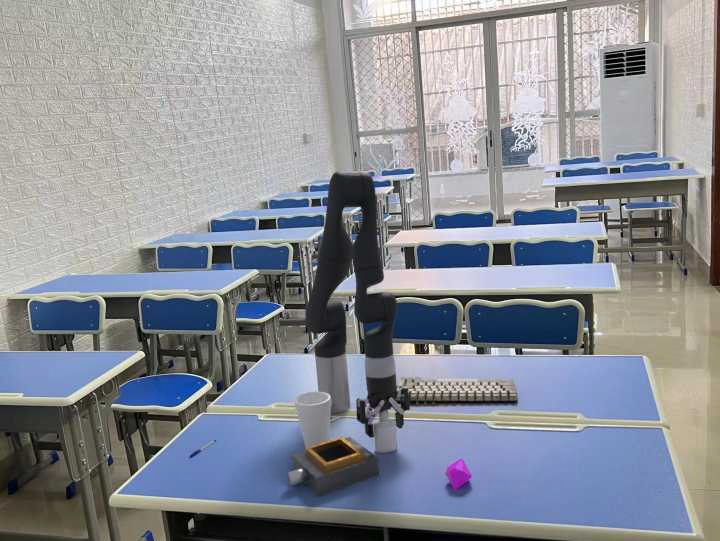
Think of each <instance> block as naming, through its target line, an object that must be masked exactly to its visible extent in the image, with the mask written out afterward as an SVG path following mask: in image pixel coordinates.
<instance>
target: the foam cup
mask: <svg viewBox="0 0 720 541" xmlns="http://www.w3.org/2000/svg"><path fill="white" fill-rule="evenodd" d="M331 405H332V404H331V396H330V395H329V394H328V393H325V392H318V391H310V392H309V391H308V392H305V393H301V394H300V395H298V396H296V397H295V398H294V407H295V408H294V409H295V411H296V413H297V418H298V422H299V426H300V430H301V434H302V439H303V443H304V447H305V448H307V447H310V446H313V445H316V444H320V443H323V442H326V441H329V440H330V431H331V429H330V428H331V413H330V412H331Z"/></svg>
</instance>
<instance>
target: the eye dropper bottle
mask: <svg viewBox="0 0 720 541" xmlns="http://www.w3.org/2000/svg"><path fill="white" fill-rule="evenodd" d="M389 416H390V415H389V410H384V411H383V412H379V413H378V419H376V420H375V421H374V422H373V423H372V424H373V431H374V437H373V438H374V439H373V440H374V449H375V452H376V453H378V454H387V453H393V452H395V451H397V450H398V437H397V436H398V435H397V426H396V420H394V419H393V418H389Z"/></svg>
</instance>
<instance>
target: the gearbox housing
mask: <svg viewBox="0 0 720 541" xmlns="http://www.w3.org/2000/svg"><path fill="white" fill-rule="evenodd" d="M291 457H292V466H293V467H292V469H293V470H292V471H289V472H288V473H287V474H288V475H287V477H288V481H289V483H290V485H291V486H295V485H297V484H301V483H304V484H305V485H306V486H307V487H308V488H309V489H310V490H311V491H312V493H314V495H316V496H317V497H318V498H319V497H322V496H324V495H327V494H330V493H332V492H336V491H339V490H341V489H345V488H347V487H350V486H352V485H355V484H358V483H361V482H365V481H367V480H370V479H372V478H375V477H379V476H380V469H379V468H380V467H379V457H378V456H376V455H375V454H374V453H373V452H371V451H370V450H369V449H368V448H365V446H363V445H362V444H360V443H359V442H358V441H357V440H355V439H354V438H352V437H351V436H348V437H345V438H344V437H343V436H339V437H337V438H333V439H329V441H326V442H323V443H320V444H316V445H313V446H310V447H307V448H306V447H305V449H304V450H302V451H300V452H297V453H294V454H292V455H291Z"/></svg>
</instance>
